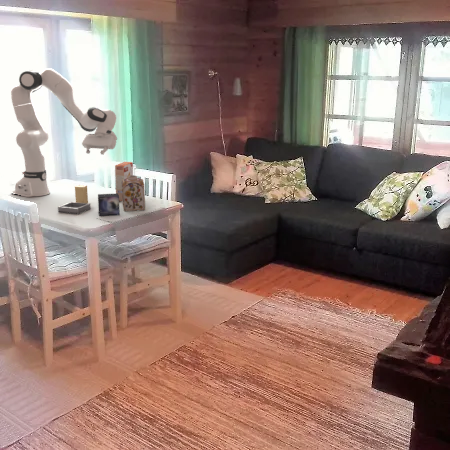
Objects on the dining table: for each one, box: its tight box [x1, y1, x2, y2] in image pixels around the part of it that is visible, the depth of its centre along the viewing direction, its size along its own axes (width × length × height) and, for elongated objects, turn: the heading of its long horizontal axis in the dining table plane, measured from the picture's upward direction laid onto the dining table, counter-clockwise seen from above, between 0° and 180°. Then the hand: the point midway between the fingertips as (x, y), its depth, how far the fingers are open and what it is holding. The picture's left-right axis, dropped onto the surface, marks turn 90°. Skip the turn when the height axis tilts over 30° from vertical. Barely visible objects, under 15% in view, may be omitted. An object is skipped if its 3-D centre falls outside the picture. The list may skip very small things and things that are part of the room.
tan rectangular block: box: [74, 184, 89, 204], centre depth 303 cm, size 5×4×10 cm
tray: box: [57, 201, 91, 215], centre depth 289 cm, size 12×12×3 cm
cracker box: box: [114, 161, 134, 202], centre depth 314 cm, size 14×6×21 cm, turn 168°
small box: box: [97, 193, 121, 217], centre depth 282 cm, size 11×6×10 cm, turn 107°
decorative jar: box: [121, 174, 146, 212], centre depth 294 cm, size 12×12×18 cm
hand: (94, 153), depth 312 cm, fingers open, 8 cm apart
